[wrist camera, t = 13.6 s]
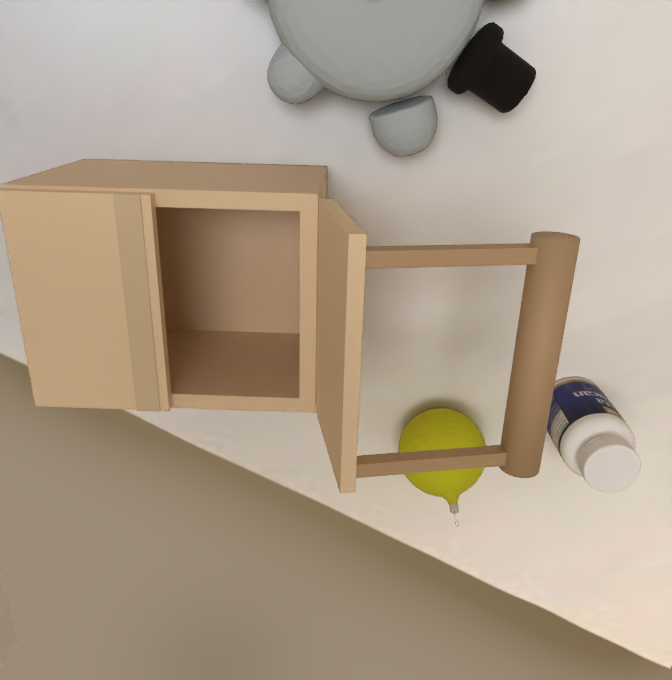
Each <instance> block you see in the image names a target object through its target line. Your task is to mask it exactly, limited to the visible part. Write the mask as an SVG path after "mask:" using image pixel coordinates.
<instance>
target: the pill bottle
mask: <svg viewBox="0 0 672 680" xmlns="http://www.w3.org/2000/svg"><path fill="white" fill-rule="evenodd" d="M547 431H548V433H549V435H550V437H551V439H552V441H553V443H554V444H555V446H556V448H557V450H558V452H559V454H560V456H561V457H562V459H563V461H564V462H565V464H566V465H567V467H568V468H569V469H570V470H571V471H573V472H574V473H576V474H577V475H580V476H582V477H584V479H585V480H586V482H587V483H588V484H589V485H590V486H591V487H592V488H594V489H596V490H599V491H603V492H615V491H619V490H622V489H624V488H626V487H628V486H629V485H631V484H632V483H633V482H634V481H635V479H636V478H637V476H638V475H639V472H640V468H641V462H640V458H639V456H638V454H637V453H636V452H635V438H634V435H633V433H632V431H631V429H630V427H629V426H628V425H627V423H626V422H625V421H624V419H623V418H622V417H621V415H620V414H619V413H618V411H617V410H616V409H615V408H614V407H613V405H612V404H611V403H610V401H609V400H608V399H607V398H606V396H605V395H604V394H603V392H602V391H601V390H600V389H599V388H598V387H597V386H596V385H595V384H594V383H593V382H591V381H589V380H587V379H583V378H578V377H572V378H565V379H562V380H559V381H557V382H555V384H554V390H553V396H552V401H551V407H550V413H549V418H548V424H547Z"/></svg>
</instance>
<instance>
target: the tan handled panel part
mask: <svg viewBox="0 0 672 680" xmlns="http://www.w3.org/2000/svg"><path fill="white" fill-rule="evenodd" d="M366 240H367V234H366V233H365V232H364V231H363V229H362V228H361V227H360V226H359V225H358V224H357V223H356V222H355V221H354V220H353V219H352V218H351V217H350V216H349V215H348V213H347V212H346V211H345V210H344V209H343V208H342V207H341V206H340V205H339V204H338V203H337V202H336V201H335V200H334V198H329V199H319V261H318V329H317V397H316V413H317V416H318V420H319V423H320V426H321V430H322V433H323V437H324V440H325V443H326V447H327V450H328V454H329V457H330V460H331V464H332V467H333V471H334V474H335V477H336V481H337V484H338V487H339V491H340V493H348V492H355V488H356V478H360V477H372V476H385V475H397V474H409V473H421V472H433V471H445V470H457V469H469V468H481V467H494V466H499V467H500V469H501V470H502V471H504V472H505V473H507V474H509V475H511V476H514V477H519V478H530V477H533V476H536V475H537V474H538V473H539V469H540V463H541V458H542V452H543V446H544V441H545V435H546V430H547V424H548V418H549V413H550V407H551V401H552V396H553V390H554V384H555V379H556V373H557V368H558V362H559V356H560V351H561V345H562V339H563V334H564V328H565V322H566V317H567V311H568V306H569V300H570V294H571V289H572V283H573V277H574V272H575V266H576V260H577V255H578V249H579V244H580V238H579V237H577V236H574V235H571V234H566V233H560V232H535V233H532V234H531V241H530V244H480V245H429V246H377V247H366ZM492 265H527V268H526V275H525V282H524V289H523V296H522V302H521V309H520V316H519V323H518V330H517V336H516V343H515V350H514V357H513V364H512V371H511V377H510V384H509V391H508V398H507V405H506V411H505V418H504V425H503V432H502V439H501V445H493V446H480V447H467V448H454V449H440V450H427V451H414V452H401V453H388V454H375V455H362V456H357V442H358V420H359V397H360V375H361V352H362V330H363V307H364V285H365V269H374V268H413V267H452V266H492Z"/></svg>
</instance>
